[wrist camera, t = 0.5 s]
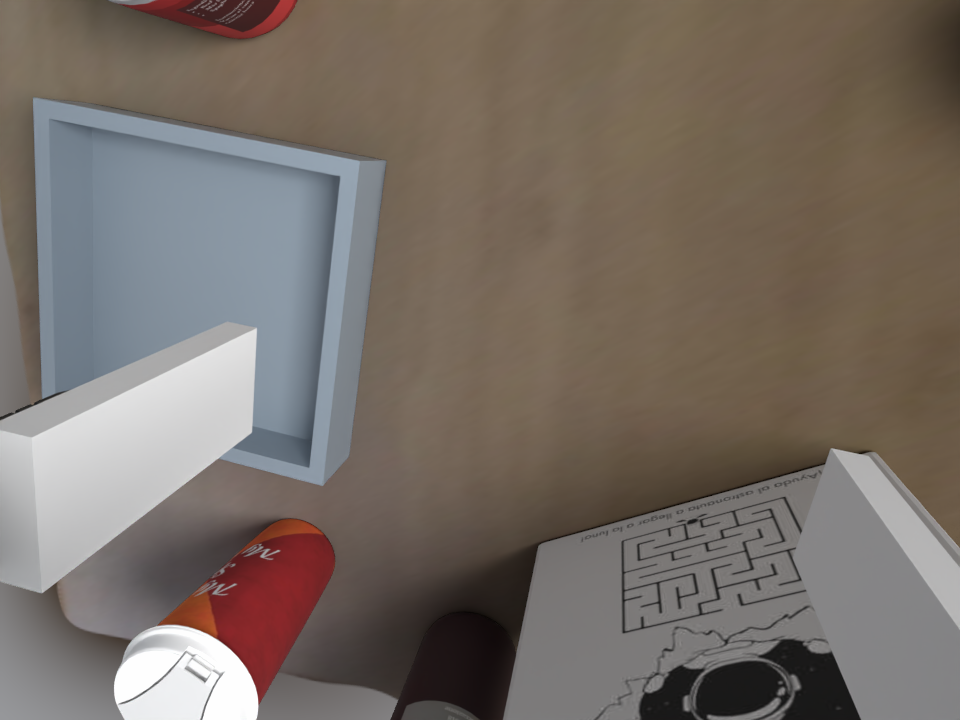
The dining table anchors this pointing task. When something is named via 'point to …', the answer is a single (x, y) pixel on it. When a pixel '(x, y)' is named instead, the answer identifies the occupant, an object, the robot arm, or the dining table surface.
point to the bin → (208, 264)
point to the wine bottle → (459, 671)
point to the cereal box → (685, 615)
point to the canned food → (219, 14)
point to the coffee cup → (228, 632)
